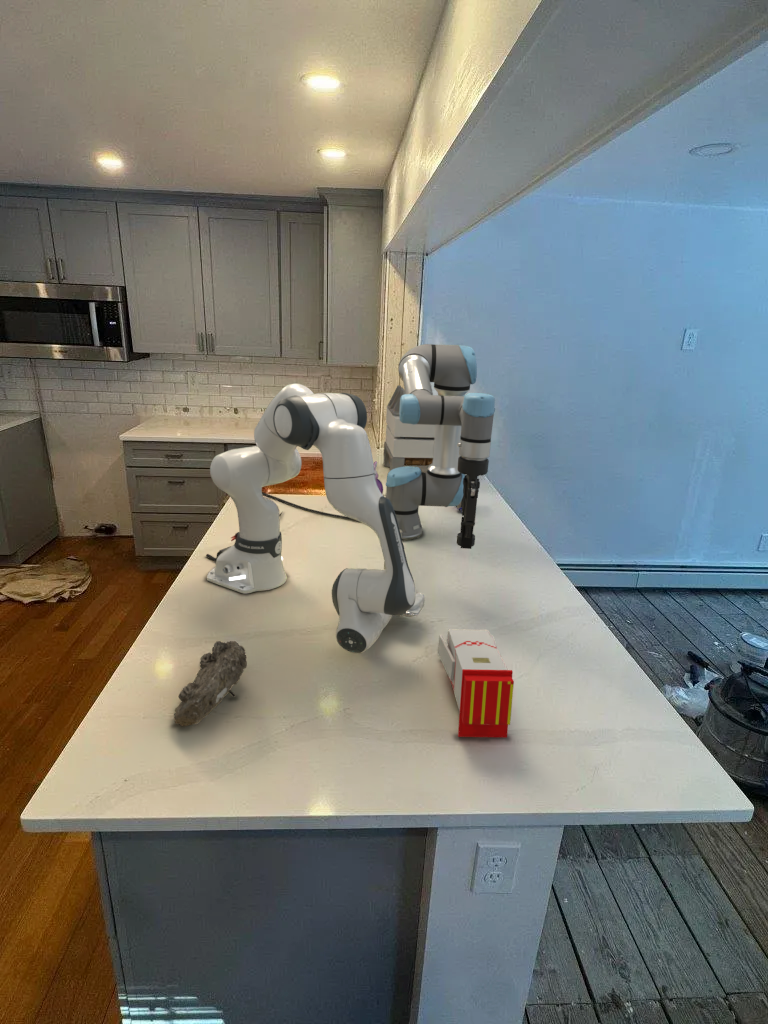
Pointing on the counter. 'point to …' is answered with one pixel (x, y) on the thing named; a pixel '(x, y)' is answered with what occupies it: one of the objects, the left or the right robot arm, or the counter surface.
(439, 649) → the toy
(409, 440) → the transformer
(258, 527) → the left robot arm
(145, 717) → the counter surface
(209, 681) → the fossil
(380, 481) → the figurine
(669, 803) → the counter surface
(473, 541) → the cap
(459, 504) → the figurine character
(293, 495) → the counter surface
